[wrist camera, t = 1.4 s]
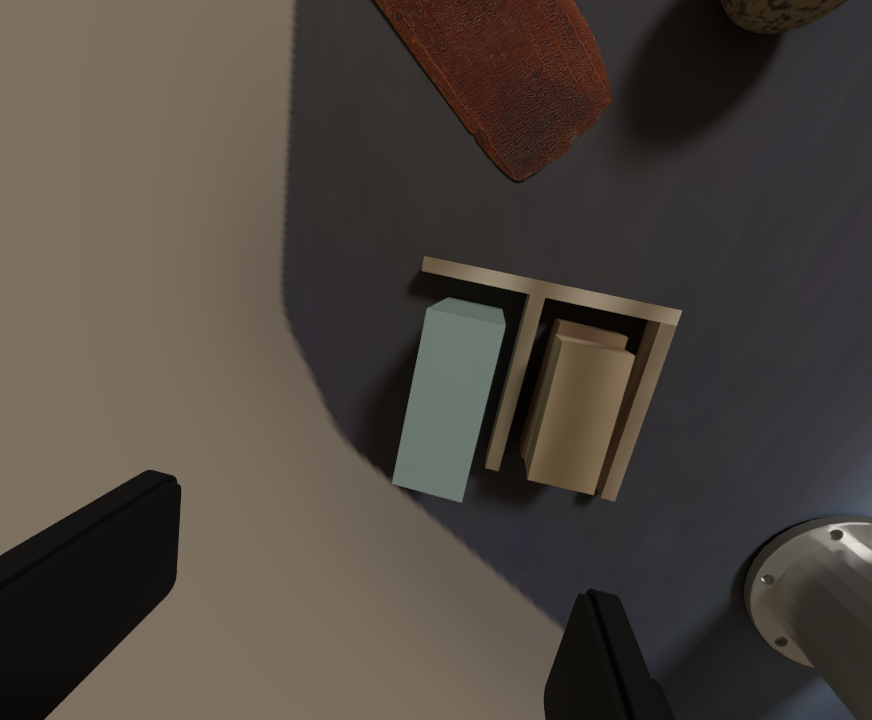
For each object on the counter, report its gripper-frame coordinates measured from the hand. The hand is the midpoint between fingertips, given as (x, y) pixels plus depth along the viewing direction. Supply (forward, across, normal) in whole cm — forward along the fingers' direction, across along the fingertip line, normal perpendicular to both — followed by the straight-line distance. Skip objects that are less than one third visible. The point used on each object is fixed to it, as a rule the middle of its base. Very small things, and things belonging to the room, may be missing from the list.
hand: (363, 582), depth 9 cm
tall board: (+22, -1, 0) cm, 23 cm away
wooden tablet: (+23, +5, -25) cm, 34 cm away
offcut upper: (+20, -9, 0) cm, 21 cm away
